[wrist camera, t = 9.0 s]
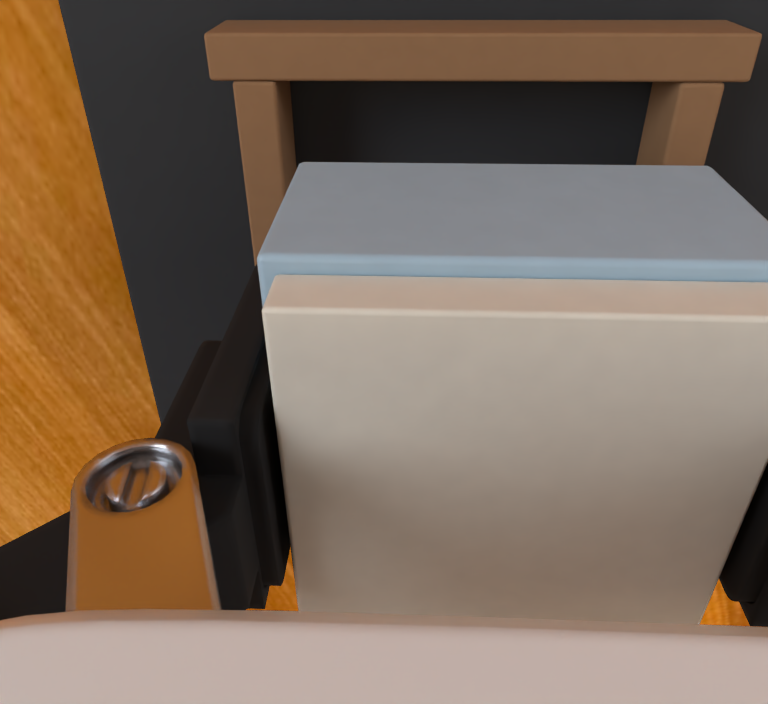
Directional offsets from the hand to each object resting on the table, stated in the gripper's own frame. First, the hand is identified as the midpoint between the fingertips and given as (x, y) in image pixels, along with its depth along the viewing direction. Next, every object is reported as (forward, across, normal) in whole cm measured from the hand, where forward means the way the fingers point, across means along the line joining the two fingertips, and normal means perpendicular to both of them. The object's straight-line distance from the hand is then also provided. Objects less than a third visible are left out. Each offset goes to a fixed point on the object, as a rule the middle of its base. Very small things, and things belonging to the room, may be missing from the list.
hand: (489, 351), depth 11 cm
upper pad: (+1, 0, 0) cm, 1 cm away
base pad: (+6, 0, 0) cm, 6 cm away
